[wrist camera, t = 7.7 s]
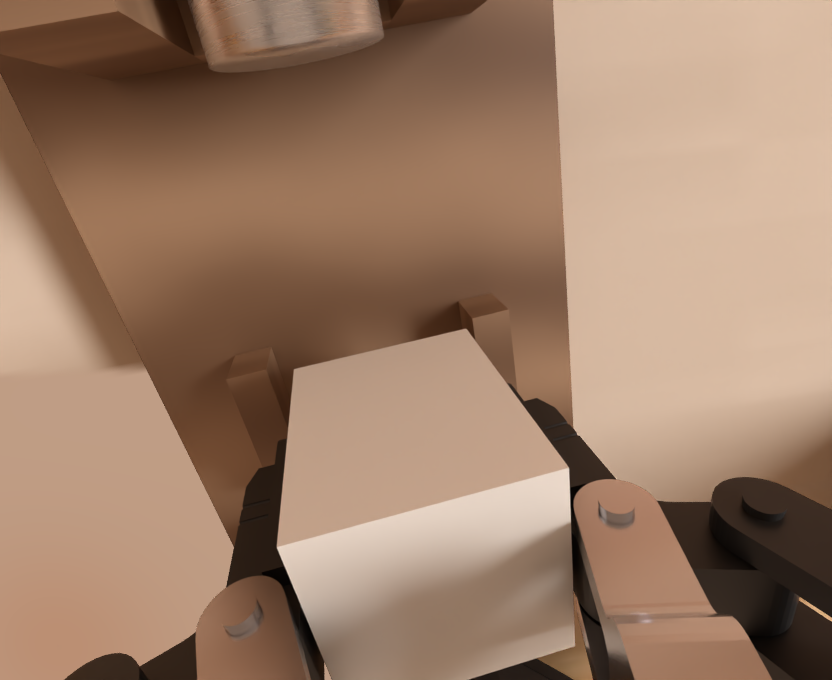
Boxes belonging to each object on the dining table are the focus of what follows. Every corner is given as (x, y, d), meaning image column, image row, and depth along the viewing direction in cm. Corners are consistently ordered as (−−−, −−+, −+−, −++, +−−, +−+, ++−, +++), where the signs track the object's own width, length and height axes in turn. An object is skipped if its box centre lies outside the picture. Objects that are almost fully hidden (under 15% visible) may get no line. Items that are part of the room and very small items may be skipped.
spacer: (466, 328, 11) (569, 467, 6) (483, 462, 13) (575, 646, 8) (294, 369, 11) (276, 547, 6) (336, 502, 12) (347, 717, 8)
